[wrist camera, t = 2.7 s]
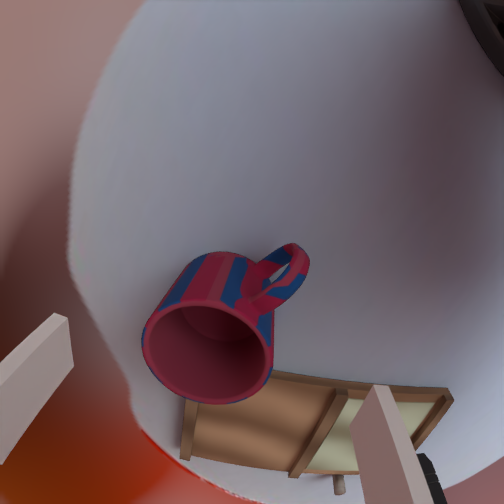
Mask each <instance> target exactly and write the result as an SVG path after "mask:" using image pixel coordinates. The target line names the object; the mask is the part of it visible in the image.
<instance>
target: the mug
mask: <svg viewBox="0 0 504 504" xmlns="http://www.w3.org/2000/svg"><path fill="white" fill-rule="evenodd" d="M289 262H290V263H289ZM288 263H289V265H288V266H287V267H286V269H285V270H284V271H283V273H282V274H281V275H280V276H279V277H278V278H277V279H276V280H275V281H274V282H273V283H272V284H271V282H270V280H269V277H270V276H272V275H273V274H274V273H275V272H276V271H277V270H279V269H280V268H281V267H283V266H284V265H286V264H288ZM309 265H310V260H309V257H308V255H307V254H306V252H305V251H304V250H303V249H302V248H301V247H299V246H298V245H297V244H295V243H290V244H287V245H284V246H282V247H280V248H279V249H277V250H275V251H274V252H272V253H271V254H269V255H268V256H267V257H265V258H264V259H262V260H261V261H259V262H258V263H257V264H256V263H254V262H253V261H252V260H250V259H248V258H246V257H244V256H241V255H239V254H236V253H230V252H213V253H208V254H205V255H202V256H200V257H198V258H196V259H194V260H193V261H192V262H191V263H190V264H188V265H187V267H186V268H185V269H184V270H183V272H182V273H181V274H180V276H179V277H178V278H177V280H176V281H175V283H174V284H173V285H172V287H171V288H170V290H169V291H168V292H167V294H166V295H165V297H164V298H163V299H162V301H161V302H160V304H159V305H158V307H157V308H156V309H155V311H154V312H153V314H152V315H151V317H150V318H149V319H148V321H147V323H146V325H145V327H144V329H143V333H142V338H141V339H142V351H143V356H144V359H145V361H146V363H147V365H148V367H149V369H150V370H151V372H152V373H153V375H154V376H155V377H156V378H157V379H158V380H159V381H160V382H161V383H162V384H163V385H164V386H165V387H167V388H168V389H170V390H171V391H172V392H174V393H176V394H178V395H180V396H182V397H184V398H186V399H189V400H192V401H194V402H199V403H203V404H211V405H225V404H231V403H236V402H239V401H242V400H245V399H247V398H249V397H251V396H253V395H254V394H256V393H257V392H258V391H259V390H261V389H262V387H263V386H264V385H265V384H266V383H267V381H268V379H269V377H270V375H271V372H272V369H273V357H274V309H275V308H277V307H278V306H280V305H281V304H282V303H284V302H285V301H286V300H287V299H288V298H290V297H291V296H292V295H293V294H294V293H295V292H296V291H297V289H298V288H299V287H300V286H301V284H302V283H303V281H304V280H305V278H306V275H307V273H308V269H309Z"/></svg>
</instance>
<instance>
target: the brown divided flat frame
mask: <svg viewBox="0 0 504 504" xmlns="http://www.w3.org/2000/svg"><path fill="white" fill-rule="evenodd" d="M373 385H381V384H370V383H360V382H351V381H342V380H334V379H326V378H319V377H312V376H306V375H299V374H293V373H287V372H281V371H275V370H272V372H271V375H270V377H269V379H268V381H267V383H266V384H265V385H264V386H263V387H262V389H261V390H259V391H258V392H257V393H256V394H254V395H253V396H251V397H249V398H247V399H245V400H242V401H239V402H236V403H231V404H225V405H211V404H203V403H199V402H194V401H192V400H189V399H186V401H185V410H184V419H183V429H182V439H181V449H180V459H183V460H187V461H190V457H191V455H192V456H196V457H201V458H205V459H210V460H214V461H219V462H224V463H230V464H235V465H241V466H247V467H254V468H261V469H269V470H277V471H287V472H288V478H298V477H299V476H300V475H301V473H313V474H332V476H333V485H334V494H335V495H342V494H344V493H345V492H346V490H345V483H344V476H343V475H359V469H358V464H357V460H356V455H355V451H354V446H353V442H352V438H351V433H350V429H349V425H350V424H351V422H352V420H353V419H354V417H355V416H356V414H357V412H358V411H359V409H360V407H361V405H362V404H363V402H364V400H365V398H366V397H367V395H368V393H369V391H370V390H371V388H372V386H373ZM385 386H389V388H390V391H391V393H392V395H393V398H394V400H395V402H396V405H397V407H398V410H399V412H400V414H401V417H402V419H403V422H404V424H405V427H406V429H407V432H408V434H409V437H410V439H411V442H412V444H413V447H414V450H415V451H416V450H417V449H418V447H419V446H420V445H421V444H422V443H423V441H424V440H425V439H426V438H427V437H428V435H429V434H430V433H431V432H432V430H433V429H434V428H435V426H436V425H437V424H438V422H439V421H440V420H441V418H442V417H443V416H444V414H445V413H446V412H447V410H448V409H449V408H450V406H451V405H452V403H453V402H454V398H453V396H452V395H451V393H450V391H449V390H448V388H431V387H409V386H394V385H385Z"/></svg>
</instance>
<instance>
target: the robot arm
mask: <svg viewBox="0 0 504 504" xmlns="http://www.w3.org/2000/svg"><path fill="white" fill-rule="evenodd" d="M460 3H461V6H462V9H463V11H464V13H465V16H466V18H467V20H468V22H469V24H470V26H471V28H472V30H473V32H474V33H475V35H476V37H477V39H478V40H479V42H480V44H481V45H482V47H483V49H484V50H485V52H486V53H487V55H488V56H489V58H490V59H491V60H492V62H493V63H494V65H495V66H496V67H497V69H498V70H499V71H500V72H501V74H502V75H503V76H504V0H460ZM73 367H74V363H73V357H72V349H71V342H70V334H69V324H68V318H67V317H64V316H62V315H59V314H56V313H53V314H52V315H51V316H50V317H49V318H48V319H47V320H46V321H44V322H43V323H42V324H41V325H40V326H39V327H38V328H37V329H36V330H35V331H33V332H32V333H31V334H30V335H29V336H28V337H27V338H26V339H25V340H24V341H22V343H20V344H19V345H18V346H17V347H16V348H15V349H14V350H13V351H12V352H11V353H10V354H9V355H8V356H7V357H6V358H5V359H4V360H3V361H2V362H0V464H1V465H2V464H3V462H4V460H5V459H6V458H7V456H8V454H9V453H10V452H11V450H12V449H13V447H14V446H15V444H16V443H17V442H18V440H19V438H20V437H21V436H22V434H23V433H24V432H25V430H26V429H27V427H28V426H29V425H30V423H31V422H32V420H33V419H34V418H35V416H36V415H37V414H38V412H39V411H40V410H41V408H42V407H43V406H44V404H45V403H46V401H47V400H48V399H49V398H50V396H51V395H52V394H53V392H54V391H55V390H56V388H57V387H58V386H59V385H60V383H61V382H62V381H63V379H64V378H65V377H66V376H67V374H68V373H69V372H70V370H71V369H72V368H73ZM349 429H350V433H351V438H352V442H353V446H354V451H355V455H356V460H357V464H358V469H359V474H360V479H361V483H362V488H363V493H364V498H365V503H366V504H447V501H446V498H445V496H444V493H443V490H442V488H441V485H440V483H439V482H438V481H439V480H438V477H437V475H436V474H435V473H436V472H435V469H434V467H433V464H432V462H431V461H430V460H429V459H428V457H427V456H426V455H425V454H424V453H421V454H416V452H415V450H414V447H413V444H412V442H411V439H410V437H409V434H408V432H407V429H406V427H405V424H404V422H403V419H402V417H401V414H400V412H399V410H398V407H397V405H396V402H395V400H394V398H393V395H392V393H391V391H390V388H389V386H385V385H373V386H372V388H371V390H370V391H369V393H368V395H367V397H366V398H365V400H364V402H363V404H362V405H361V407H360V409H359V411H358V412H357V414H356V416H355V417H354V419H353V420H352V422H351V424H350V425H349Z"/></svg>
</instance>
